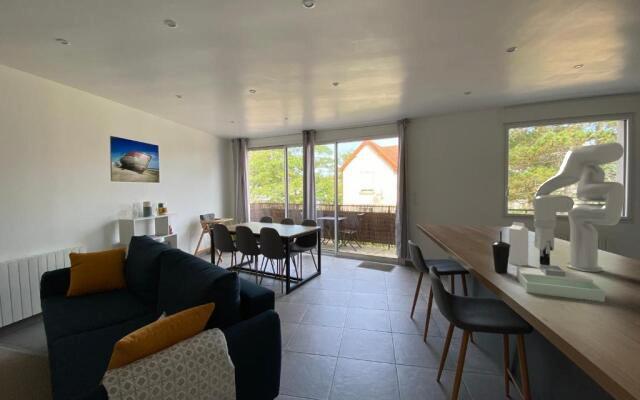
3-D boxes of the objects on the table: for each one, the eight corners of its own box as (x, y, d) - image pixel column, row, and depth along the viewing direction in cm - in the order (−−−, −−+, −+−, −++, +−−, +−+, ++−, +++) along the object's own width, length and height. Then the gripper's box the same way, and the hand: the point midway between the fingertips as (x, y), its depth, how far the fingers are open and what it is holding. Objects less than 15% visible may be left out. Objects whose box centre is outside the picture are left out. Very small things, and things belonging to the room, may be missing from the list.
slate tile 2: (542, 272, 110) (542, 267, 110) (561, 273, 107) (561, 269, 107) (545, 275, 106) (545, 270, 106) (565, 277, 104) (565, 272, 104)
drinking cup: (514, 274, 122) (513, 232, 121) (495, 274, 124) (495, 232, 123) (505, 269, 130) (505, 229, 129) (488, 269, 131) (488, 229, 130)
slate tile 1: (539, 269, 114) (539, 264, 114) (557, 270, 111) (557, 265, 111) (542, 271, 111) (542, 267, 110) (560, 273, 108) (560, 268, 108)
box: (521, 285, 110) (521, 275, 110) (593, 292, 100) (593, 282, 100) (526, 292, 102) (526, 282, 102) (604, 302, 92) (604, 290, 92)
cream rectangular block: (516, 277, 118) (516, 267, 118) (582, 284, 108) (582, 272, 108) (521, 284, 110) (521, 273, 110) (592, 292, 100) (592, 279, 100)
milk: (520, 266, 134) (520, 223, 133) (508, 263, 140) (508, 222, 139) (528, 264, 136) (528, 222, 135) (517, 261, 142) (516, 221, 141)
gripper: (530, 221, 125) (529, 259, 126) (538, 226, 112) (538, 268, 112) (550, 222, 121) (550, 261, 122) (562, 226, 108) (561, 270, 109)
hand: (544, 264), depth 117 cm, fingers closed
